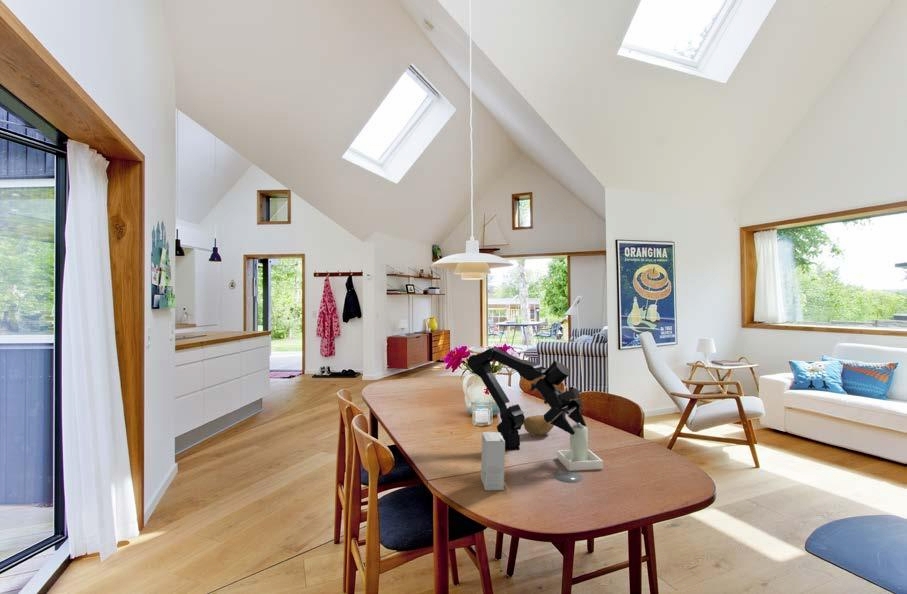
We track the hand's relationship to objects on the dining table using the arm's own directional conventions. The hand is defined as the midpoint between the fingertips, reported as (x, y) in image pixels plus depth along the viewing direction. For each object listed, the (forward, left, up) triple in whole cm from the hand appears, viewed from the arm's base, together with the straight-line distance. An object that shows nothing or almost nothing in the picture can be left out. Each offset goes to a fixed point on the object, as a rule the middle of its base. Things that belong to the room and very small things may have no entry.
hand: (579, 430), depth 149 cm
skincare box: (-32, -12, -12) cm, 36 cm away
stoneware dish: (0, 0, -11) cm, 12 cm away
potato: (-3, +35, -12) cm, 37 cm away
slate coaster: (-8, -10, -11) cm, 17 cm away
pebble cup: (0, 0, -11) cm, 11 cm away
